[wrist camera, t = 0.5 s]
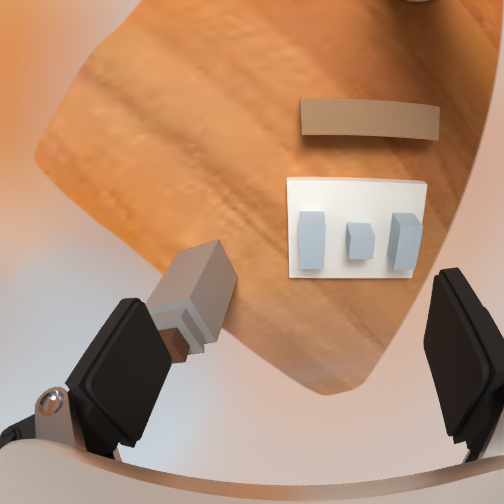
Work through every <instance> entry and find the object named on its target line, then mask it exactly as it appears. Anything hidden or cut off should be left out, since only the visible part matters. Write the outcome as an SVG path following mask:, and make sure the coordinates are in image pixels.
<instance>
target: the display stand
mask: <svg viewBox="0 0 504 504" xmlns="http://www.w3.org/2000/svg"><path fill="white" fill-rule="evenodd" d="M426 192H427V184H426V183H425V182H424V181H418V180H401V179H380V178H350V177H287V202H288V236H289V278H412V274H413V270H415V268H416V263H417V258H418V253H419V248H420V243H421V237H422V232H423V225H422V221H423V214H424V207H425V200H426Z"/></svg>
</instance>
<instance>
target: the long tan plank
mask: <svg viewBox="0 0 504 504" xmlns="http://www.w3.org/2000/svg"><path fill="white" fill-rule="evenodd" d="M300 106H301V123H302V135H365V136H387V137H403V138H416V139H427V140H437V141H439V119H440V107H438V106H433V105H428V104H420V103H411V102H401V101H389V100H375V99H353V98H300Z"/></svg>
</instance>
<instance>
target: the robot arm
mask: <svg viewBox="0 0 504 504" xmlns="http://www.w3.org/2000/svg"><path fill="white" fill-rule="evenodd" d="M406 1H413V2H421V1H428V0H406ZM424 350H425V353H426V357H427V360H428V363H429V366H430V370H431V373H432V377H433V380H434V383H435V387H436V391H437V394H438V398H439V402H440V406H441V410H442V414H443V418H444V422H445V427H446V431H447V434H448V436H453V440H454V444H456V443H460V442H464V441H466V444H467V448H468V449H469V451H468V453H467V455H466V456H465V458H464V460H463V462H462V464H459V465H455V466H451V467H447V468H443V469H438V470H434V471H429V472H424V473H419V474H414V475H409V476H403V477H396V478H390V479H383V480H376V481H368V482H359V483H348V484H334V485H309V486H280V485H257V484H242V483H231V482H222V481H214V480H206V479H199V478H193V477H186V476H181V475H175V474H170V473H165V472H161V471H156V470H151V469H147V468H143V467H139V466H135V465H131V464H127V463H123V462H122V460H121V457H120V454H119V451H118V448H117V445H118V443H119V442H120V444H121V445H125V446H129V447H133V448H134V447H135V444H136V442H137V441H138V440H140V438H141V437H142V434H143V432H144V430H145V427H146V425H147V422H148V420H149V417H150V415H151V412H152V410H153V408H154V405H155V403H156V400H157V398H158V395H159V393H160V391H161V388H162V386H163V384H164V381H165V379H166V377H167V374H168V372H169V370H170V367H171V364H172V357H171V355H170V353H169V351H168V349H167V347H166V345H165V343H164V341H163V339H162V337H161V335H160V333H159V331H158V329H157V327H156V325H155V323H154V321H153V319H152V317H151V315H150V313H149V311H148V309H147V307H146V305H145V303H143V302H141V300H140V299H139V298H127V299H126V298H125V299H122V300H121V301H120V302H119V304H118V305H117V307H116V308H115V309H114V311H113V312H112V314H111V315H110V316H109V318H108V319H107V321H106V322H105V324H104V325H103V327H102V328H101V329H100V331H99V332H98V334H97V335H96V337H95V338H94V340H93V341H92V342H91V344H90V345H89V347H88V348H87V350H86V351H85V353H84V354H83V356H82V357H81V359H80V360H79V362H78V364H77V365H76V367H75V368H74V370H73V371H72V373H71V375H70V376H69V378H68V379H67V381H66V382H65V384H66V385H67V386H68V388H69V389H70V390H69V391H68V393H67V391H66V390H65V389H63V388H61V387H53V388H50V389H48V390H47V391H45V392H44V393H43V394H42V395H41V396H40V397H39V398H38V400H37V402H36V405H35V414H34V415H32V416H30V417H28V418H26V419H24V420H22V421H20V422H18V423H15V424H13V425H11V426H9V427H8V428H7V429H5V430H4V431H3V432H2V433H1V435H0V504H504V338H503V337H502V335H501V333H500V331H499V329H498V327H497V326H496V324H495V322H494V320H493V319H492V317H491V315H490V313H489V312H488V310H487V309H486V308H485V307H483V305H482V304H481V302H480V301H479V299H478V297H477V296H476V294H475V293H474V291H473V289H472V288H471V286H470V284H469V283H468V281H467V280H466V278H465V277H464V275H463V274H462V273H461V271H460V269H459V268H457V267H456V268H450V269H443V270H440V272H439V275H436V276H435V277H434V281H433V289H432V296H431V303H430V309H429V314H428V320H427V325H426V330H425V335H424Z"/></svg>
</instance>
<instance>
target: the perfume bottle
mask: <svg viewBox="0 0 504 504" xmlns="http://www.w3.org/2000/svg"><path fill="white" fill-rule="evenodd" d="M237 278H238V277H237V275H236V273H235V271H234V269H233V267H232V265H231V263H230V261H229V259H228V257H227V255H226V253H225V251H224V248H223V246H222V244H221V242H220V240H219V239H218V240H215V241H212V242H208V243H205V244H202V245H199V246H196V247H192V248H189V249H186V250H183V251H180V252H179V253H178V255H177V256H176V257H175V259H174V260H173V262H172V263H171V265H170V266H169V268H168V269H167V271H166V273H165V274H164V276H163V277H162V279H161V280H160V282H159V283H158V285H157V286H156V288H155V289H154V291H153V292H152V294H151V296H150V297H149V299H148V300H147V302H146V303H145V305H146V307H147V309H148V311H149V313H150V315H151V317H152V319H153V321H154V323H155V325H156V327H157V329H158V331H159V333H160V335H161V337H162V339H163V341H164V343H165V345H166V347H167V349H168V351H169V353H170V355H171V357H172V363H182V362H186V359H187V355H190V354H198V353H204V344H207V343H213V342H217V339H218V336H219V333H220V330H221V327H222V324H223V321H224V318H225V315H226V312H227V309H228V306H229V303H230V300H231V296H232V293H233V290H234V287H235V284H236V281H237Z"/></svg>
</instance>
